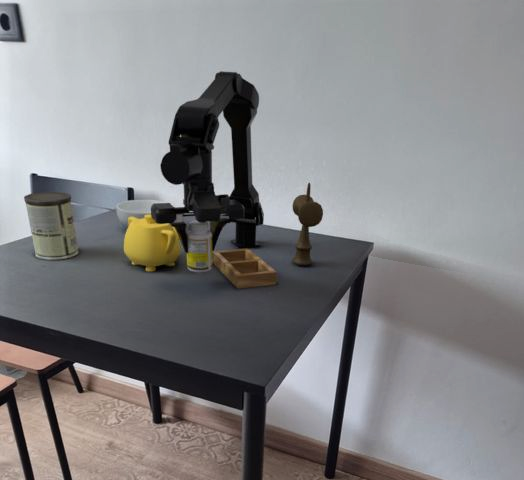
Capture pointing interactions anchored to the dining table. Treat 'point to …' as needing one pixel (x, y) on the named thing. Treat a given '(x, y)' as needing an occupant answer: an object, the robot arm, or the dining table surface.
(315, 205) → the kendama
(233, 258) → the caddy
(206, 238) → the supplement bottle
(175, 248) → the teapot
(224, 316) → the dining table surface
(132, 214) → the cereal bowl
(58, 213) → the coffee can
